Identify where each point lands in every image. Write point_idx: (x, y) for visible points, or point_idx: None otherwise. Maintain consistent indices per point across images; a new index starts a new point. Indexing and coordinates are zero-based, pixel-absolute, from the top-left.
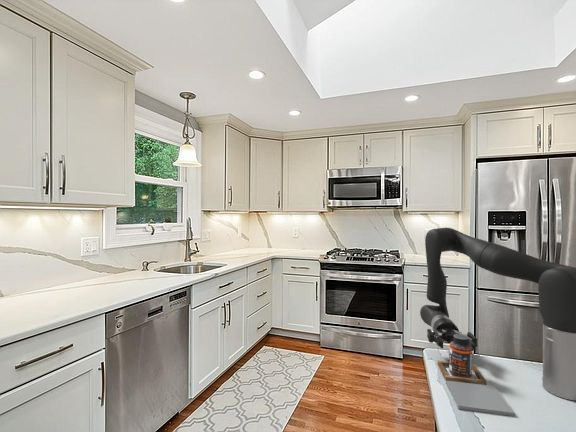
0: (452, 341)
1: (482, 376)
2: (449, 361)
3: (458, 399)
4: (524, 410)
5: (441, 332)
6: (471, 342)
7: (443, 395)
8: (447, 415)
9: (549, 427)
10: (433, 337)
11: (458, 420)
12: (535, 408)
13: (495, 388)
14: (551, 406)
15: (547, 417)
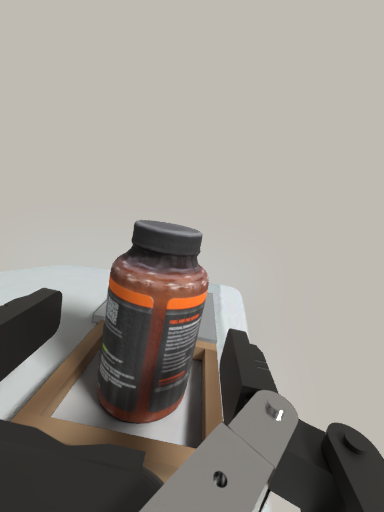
0: (195, 272)
1: (88, 336)
2: (192, 356)
3: (207, 300)
4: (97, 283)
5: (225, 463)
6: (29, 297)
7: (229, 319)
8: (230, 294)
9: (98, 268)
10: (308, 425)
11: (217, 289)
12: (68, 282)
13: (99, 308)
14: (23, 280)
15: (75, 273)
